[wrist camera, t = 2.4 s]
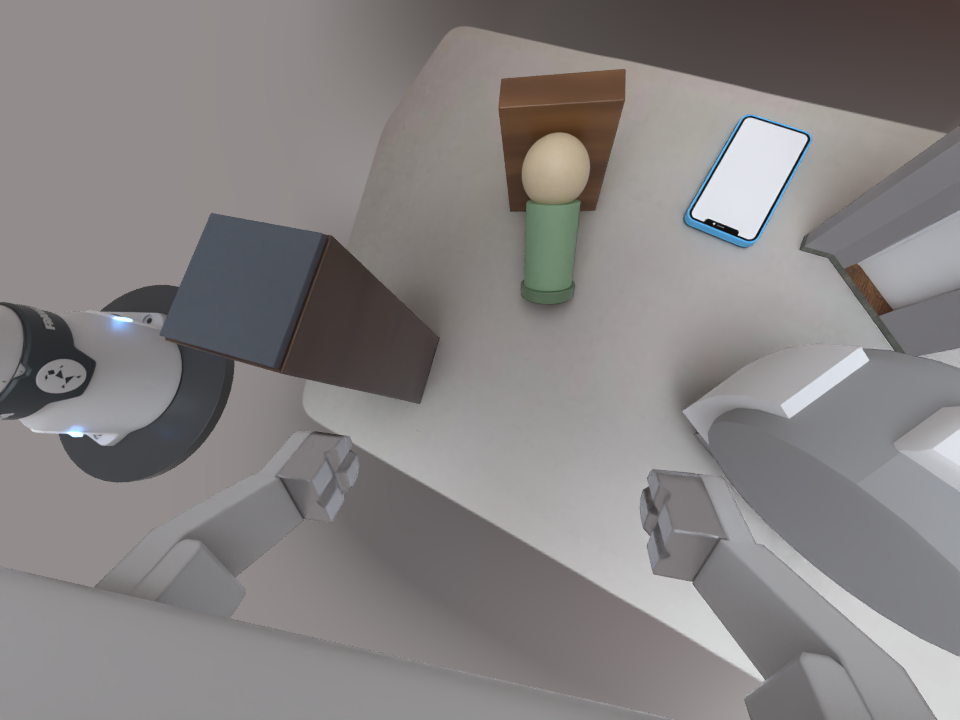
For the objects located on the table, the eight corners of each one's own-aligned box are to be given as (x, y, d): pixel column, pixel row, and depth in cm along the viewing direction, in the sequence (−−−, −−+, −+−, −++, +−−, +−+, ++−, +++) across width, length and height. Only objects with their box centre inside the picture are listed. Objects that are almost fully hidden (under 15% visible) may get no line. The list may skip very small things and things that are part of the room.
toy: (572, 318, 38) (591, 259, 25) (518, 315, 39) (511, 258, 27) (577, 213, 41) (596, 112, 28) (526, 213, 42) (523, 116, 29)
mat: (167, 337, 19) (158, 335, 19) (218, 217, 21) (210, 212, 20) (279, 369, 18) (272, 367, 17) (328, 237, 19) (322, 232, 19)
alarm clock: (873, 523, 30) (1482, 693, 11) (795, 579, 31) (1259, 848, 11) (721, 364, 35) (959, 282, 15) (654, 413, 35) (804, 394, 15)
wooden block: (595, 210, 40) (625, 99, 27) (510, 211, 42) (498, 107, 29) (595, 187, 41) (625, 68, 27) (512, 189, 43) (501, 78, 29)
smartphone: (815, 134, 37) (754, 246, 36) (807, 143, 38) (748, 251, 37) (744, 112, 39) (684, 217, 37) (738, 121, 40) (679, 223, 38)
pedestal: (358, 386, 41) (163, 340, 19) (378, 323, 42) (216, 214, 21) (419, 403, 39) (281, 373, 18) (439, 337, 40) (332, 235, 19)
